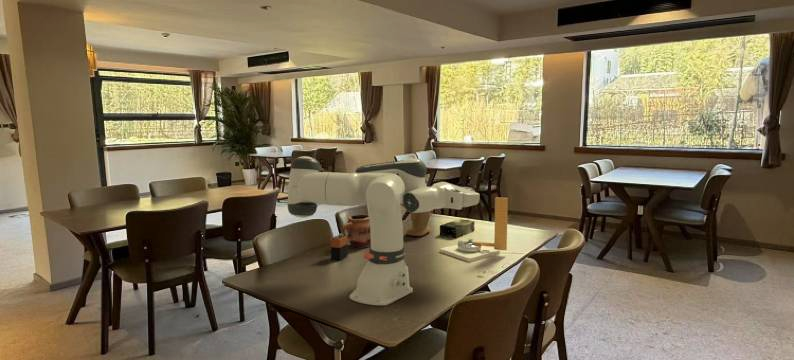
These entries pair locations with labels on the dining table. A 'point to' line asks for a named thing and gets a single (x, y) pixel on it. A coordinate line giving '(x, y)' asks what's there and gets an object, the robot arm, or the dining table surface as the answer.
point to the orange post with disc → (500, 230)
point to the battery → (339, 247)
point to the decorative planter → (358, 231)
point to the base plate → (469, 253)
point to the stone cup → (419, 224)
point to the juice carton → (457, 227)
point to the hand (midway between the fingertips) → (470, 189)
